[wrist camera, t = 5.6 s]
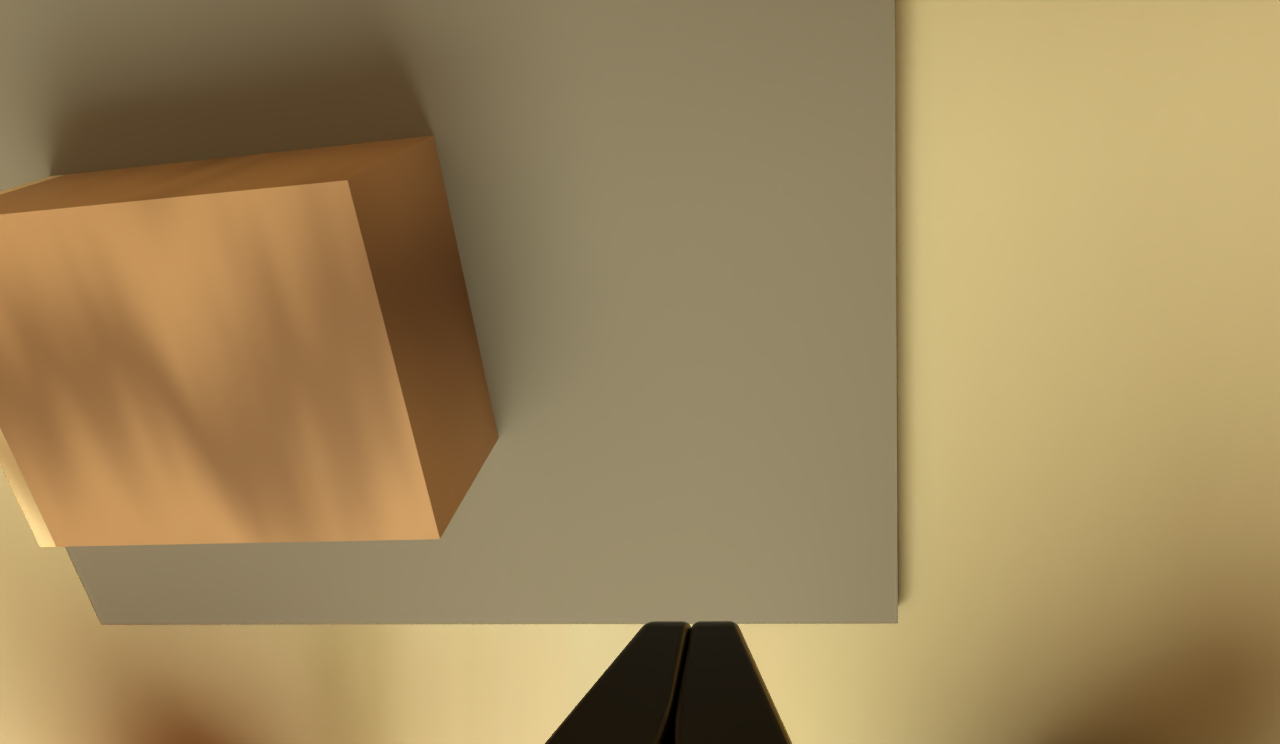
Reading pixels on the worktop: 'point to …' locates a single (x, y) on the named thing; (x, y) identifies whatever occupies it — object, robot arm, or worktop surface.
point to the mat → (556, 287)
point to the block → (240, 351)
